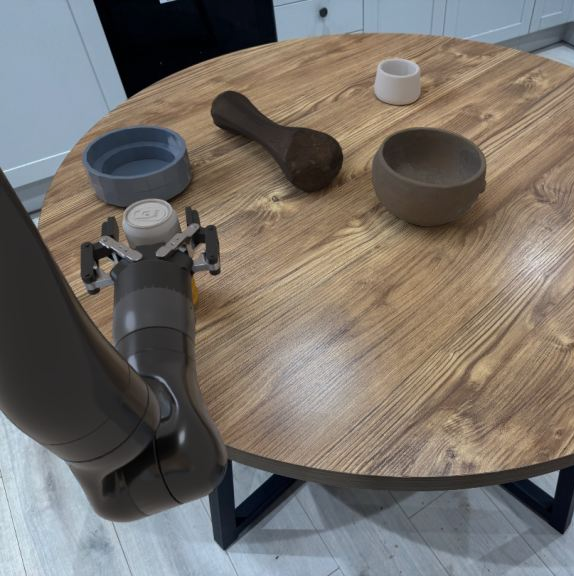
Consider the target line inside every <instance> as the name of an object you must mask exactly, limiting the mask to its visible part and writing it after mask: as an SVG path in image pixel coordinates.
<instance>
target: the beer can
mask: <svg viewBox="0 0 574 576" xmlns="http://www.w3.org/2000/svg"><path fill="white" fill-rule="evenodd" d="M121 226H122V230H123V233H124V236H125V238H126V241H127V244H128V247H130V248H131V249H135V248H136V246H140V245H153V244H156V243H161V242H166V244H167V243H168V242H169V241H170V240H171V239H172V238H173V237H174V236H175V235H176V234H177V233H182V232H183V230H182V228H181V227H182V226H181V224H180V219H179V216H178V213H177V211H176V210H175V209H174V208H173V207H172V205H171V204H170V203H169V202H167V200H165V201H164V200H160V199H145V200H141V201H138V202H136V203H133V204H132V205H130V206H129V207H126V209H125V210H124V211H123V214H122V223H121ZM191 282H192V293H193V304H194V306H195V305H196V303H197V301H198V299H199V291H198V288H197V284H196V280H195V276H194V275H193V277H192V279H191Z"/></svg>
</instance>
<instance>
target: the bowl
mask: <svg viewBox="0 0 574 576" xmlns="http://www.w3.org/2000/svg"><path fill="white" fill-rule="evenodd" d="M370 175H371V184H372V187H373V190H374V192H375V195H376V197H377V198H378V200H379V201H380V203H381V204H382V205H383V206H384V208H386V210H388V211H389V213H391V214H392V215H393V216H395V217H396V218H398V219H400V220H402V221H403V222H407V223H409V224H412V225H416V226H419V227H420V226H422V227H433V226H440V225H444V224H447V223H450V222H454V221H457V220H458V219H460V218H461V217H463V216H464V215H465V214H467V213H469V212H470V210H471V209H472V208H473V207H474V205H475V204H476V202H477V201H478V199H479V197H480V195H481V194H484V192H485V190H486V186H487V184H488V183H487V179H486V175H487V159H486V156H485V153H484V152H483V150H482V149H481V148H480V147H479V145H477V144H476V143H475V142H474V141H473V140H471V139H469V138H467V137H465V136H463V135H461V134H459V133H458V132H453V131H450V130H447V129H442V128H437V127H428V126H425V127H424V126H414V127H406V128H402V129H399V130H397V131H395V132H393V133H391V134H389V135H388V136H386V137H385V138H384V140H383V141H382V142H381V144H380V145H379V147H378V149H377V150H376V151H375V154H374V156H373V158H372V162H371V173H370Z"/></svg>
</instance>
